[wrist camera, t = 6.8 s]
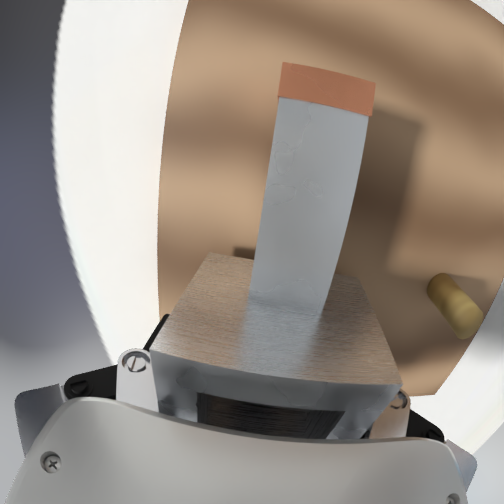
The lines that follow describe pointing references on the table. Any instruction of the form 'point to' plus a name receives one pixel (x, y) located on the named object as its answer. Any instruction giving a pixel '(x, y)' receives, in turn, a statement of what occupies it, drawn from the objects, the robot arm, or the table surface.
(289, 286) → the square scoop
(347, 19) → the base
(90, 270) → the table surface
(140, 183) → the table surface
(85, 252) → the table surface
